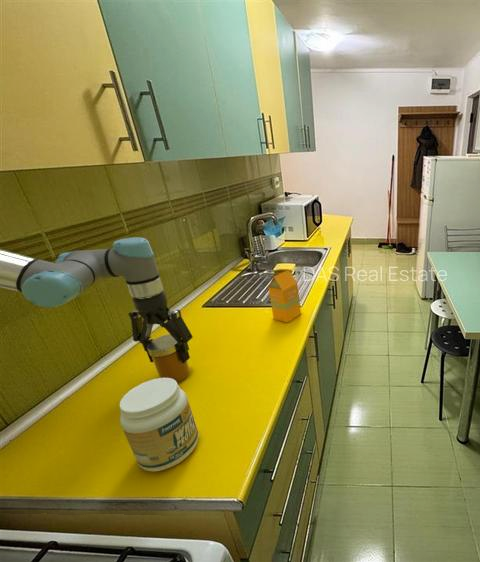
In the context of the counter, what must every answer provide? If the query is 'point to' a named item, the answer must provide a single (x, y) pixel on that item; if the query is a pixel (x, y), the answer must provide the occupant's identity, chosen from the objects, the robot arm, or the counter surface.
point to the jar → (171, 367)
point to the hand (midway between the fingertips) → (170, 359)
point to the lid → (162, 346)
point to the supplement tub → (158, 424)
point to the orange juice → (284, 297)
